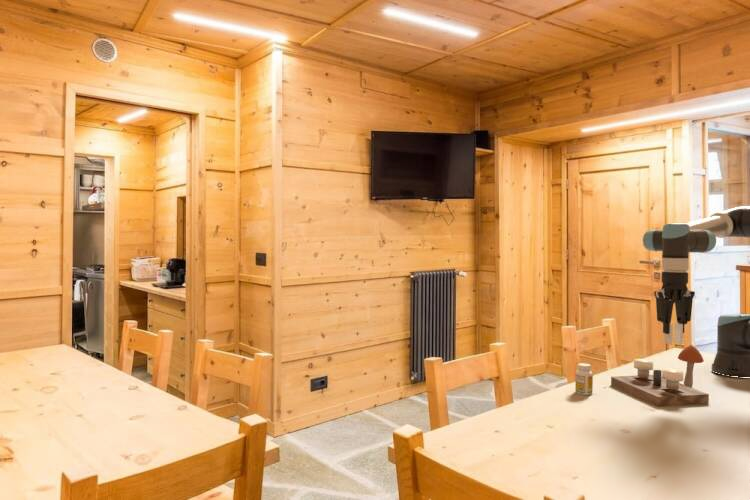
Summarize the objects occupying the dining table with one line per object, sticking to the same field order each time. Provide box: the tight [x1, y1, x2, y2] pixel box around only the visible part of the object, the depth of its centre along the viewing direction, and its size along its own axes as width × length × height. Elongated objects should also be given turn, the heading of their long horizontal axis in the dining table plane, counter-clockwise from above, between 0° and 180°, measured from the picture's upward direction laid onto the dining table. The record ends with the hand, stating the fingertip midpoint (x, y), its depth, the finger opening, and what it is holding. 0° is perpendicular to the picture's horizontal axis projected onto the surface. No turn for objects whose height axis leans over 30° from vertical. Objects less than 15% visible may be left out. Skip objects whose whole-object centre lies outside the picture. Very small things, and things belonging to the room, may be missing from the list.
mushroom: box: [677, 344, 705, 388], centre depth 187 cm, size 8×8×15 cm
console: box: [610, 374, 710, 408], centre depth 179 cm, size 18×24×3 cm
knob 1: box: [633, 358, 654, 378], centre depth 186 cm, size 6×6×6 cm
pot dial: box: [652, 368, 662, 386], centre depth 179 cm, size 2×2×5 cm
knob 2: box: [661, 368, 684, 390], centre depth 172 cm, size 6×6×6 cm
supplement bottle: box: [575, 362, 594, 396], centre depth 180 cm, size 5×5×10 cm
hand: (673, 343), depth 172 cm, fingers open, 3 cm apart
